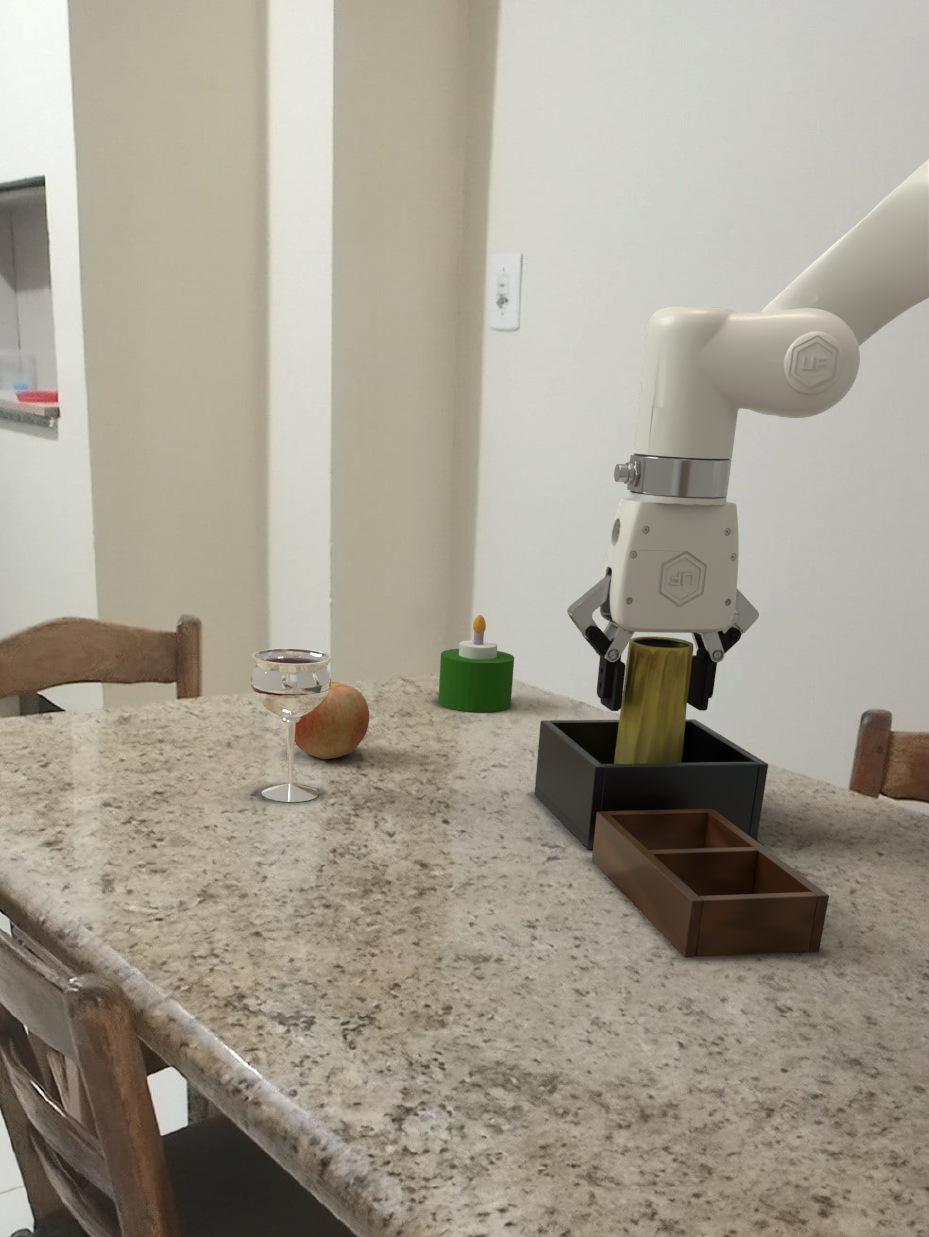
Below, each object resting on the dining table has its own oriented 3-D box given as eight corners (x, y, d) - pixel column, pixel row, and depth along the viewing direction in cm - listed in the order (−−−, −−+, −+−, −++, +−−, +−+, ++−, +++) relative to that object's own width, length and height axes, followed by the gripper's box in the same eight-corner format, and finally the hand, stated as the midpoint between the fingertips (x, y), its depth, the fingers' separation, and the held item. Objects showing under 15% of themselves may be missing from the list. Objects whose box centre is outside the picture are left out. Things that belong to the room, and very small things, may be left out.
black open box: (686, 791, 119) (695, 719, 117) (756, 844, 106) (768, 764, 104) (534, 794, 116) (540, 720, 114) (587, 849, 103) (595, 766, 100)
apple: (305, 770, 120) (306, 684, 117) (273, 748, 127) (273, 666, 124) (382, 762, 124) (385, 679, 121) (348, 741, 130) (349, 662, 127)
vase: (680, 803, 113) (701, 638, 108) (676, 824, 107) (698, 652, 102) (610, 795, 114) (627, 632, 109) (602, 815, 109) (620, 645, 103)
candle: (516, 699, 151) (522, 612, 147) (504, 715, 144) (510, 624, 140) (446, 692, 153) (451, 606, 149) (431, 707, 145) (435, 617, 142)
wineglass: (287, 810, 109) (288, 668, 104) (235, 791, 113) (234, 653, 108) (345, 795, 113) (348, 658, 109) (293, 777, 118) (294, 645, 113)
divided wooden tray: (706, 856, 103) (713, 808, 101) (819, 951, 86) (829, 895, 85) (591, 860, 101) (596, 811, 99) (684, 958, 84) (692, 900, 83)
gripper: (588, 482, 96) (567, 719, 102) (804, 489, 99) (770, 717, 106) (557, 474, 102) (539, 697, 109) (760, 481, 106) (731, 696, 113)
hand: (653, 705), depth 107 cm, fingers open, 6 cm apart
